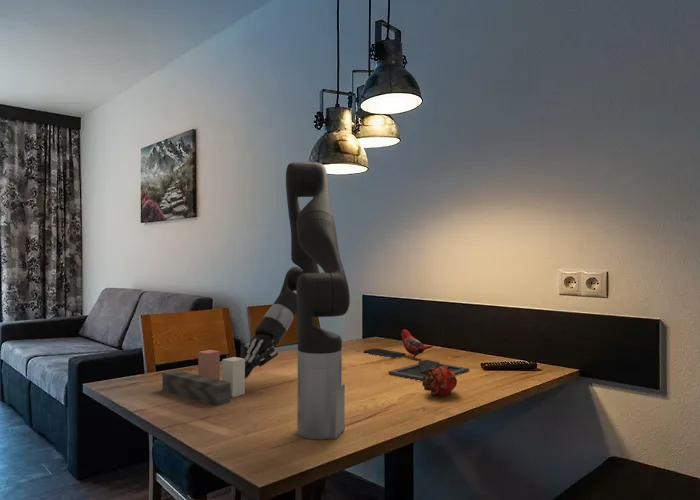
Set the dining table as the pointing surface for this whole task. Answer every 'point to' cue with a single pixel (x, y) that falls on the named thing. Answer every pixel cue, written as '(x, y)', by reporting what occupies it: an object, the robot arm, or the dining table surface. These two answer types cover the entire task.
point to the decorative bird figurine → (412, 344)
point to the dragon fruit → (439, 381)
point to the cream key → (234, 375)
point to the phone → (384, 353)
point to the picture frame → (423, 370)
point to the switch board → (196, 387)
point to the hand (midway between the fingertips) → (241, 376)
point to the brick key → (209, 364)
